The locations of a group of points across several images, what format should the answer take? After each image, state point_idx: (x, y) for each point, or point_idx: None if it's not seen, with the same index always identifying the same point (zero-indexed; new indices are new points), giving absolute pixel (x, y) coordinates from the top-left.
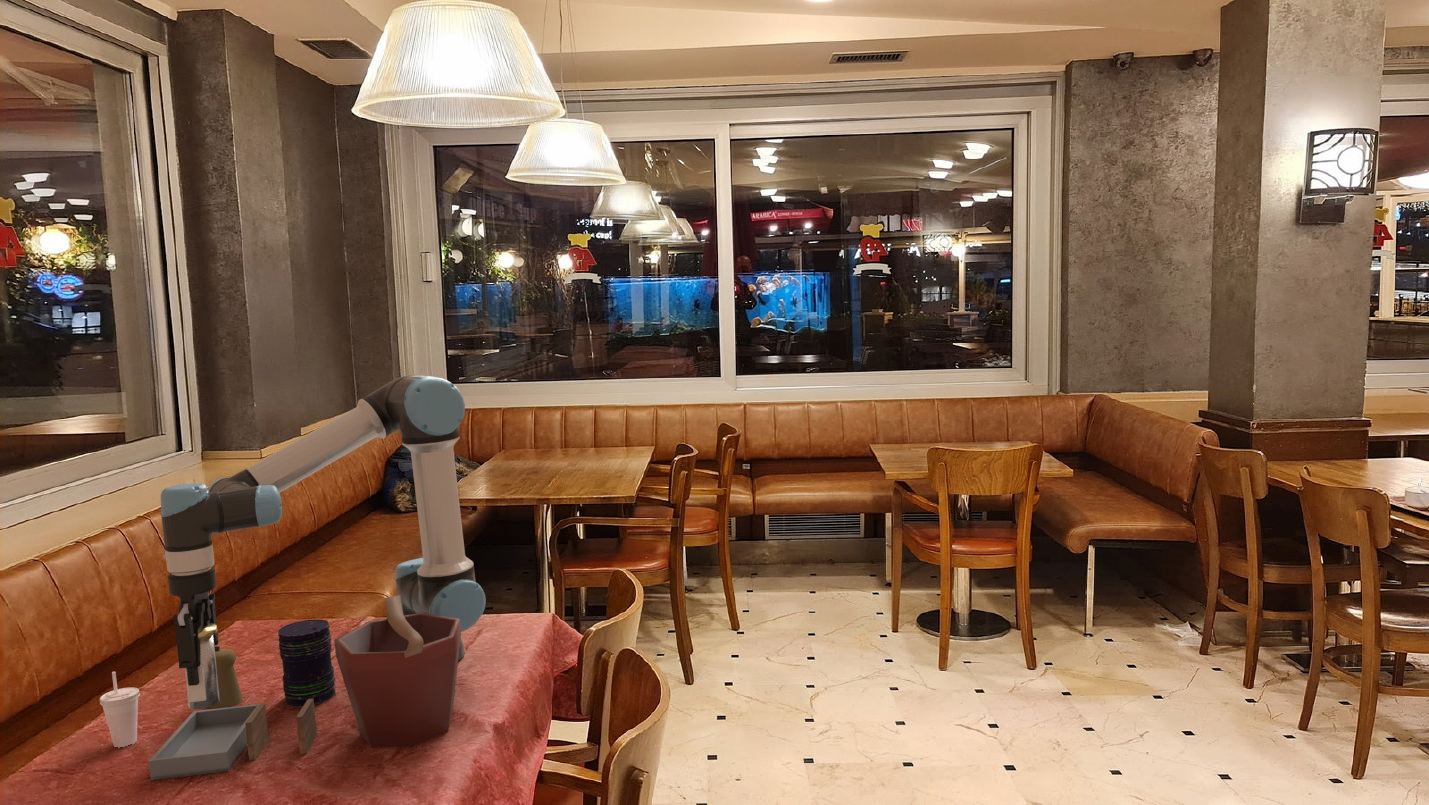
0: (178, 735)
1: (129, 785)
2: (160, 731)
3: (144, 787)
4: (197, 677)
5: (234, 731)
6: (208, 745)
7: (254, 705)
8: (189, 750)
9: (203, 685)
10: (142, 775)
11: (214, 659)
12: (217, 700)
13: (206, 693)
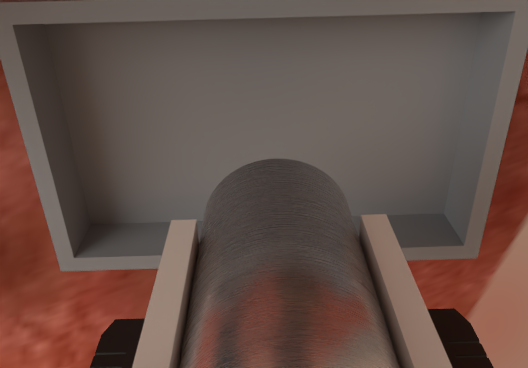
0: None
1: (456, 261)
2: (93, 318)
3: (491, 219)
4: (460, 348)
5: (149, 78)
6: (263, 133)
7: (9, 40)
8: None
9: (412, 275)
10: None
11: (298, 361)
12: (290, 165)
13: (353, 233)
